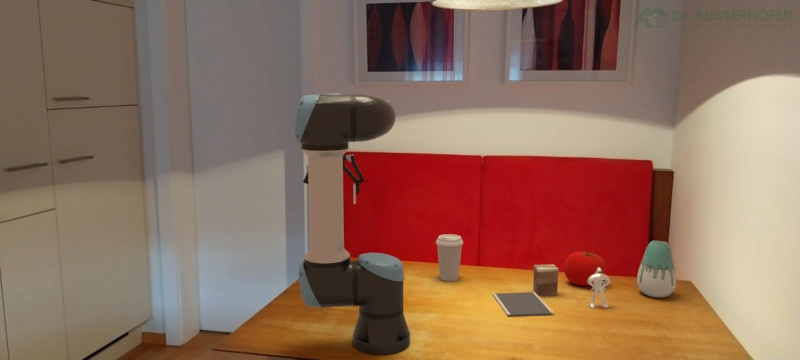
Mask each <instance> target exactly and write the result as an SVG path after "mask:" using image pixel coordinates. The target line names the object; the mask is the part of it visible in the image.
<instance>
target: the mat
mask: <svg viewBox="0 0 800 360" xmlns="http://www.w3.org/2000/svg"><path fill="white" fill-rule="evenodd" d="M492 297H493V298H494V300H495V301H496V302H497V304H498V305H499V307H500V308H501V309H502V311H503V312H504V313H505V314H504V315H506V316H507V318H508V317H510V318H511V317H533V316H534V317H535V316H536V317H537V316H554V315H555V312H554V311H553V310H552V309H551V308H550V307H549V305H548V304H547V303H546V302H545V301H544V300H543V299H542V298H541V296H538V295H537V294H536V293H535V292H533V291H532V292H531V291H528V292H527V291H526V292H501V293H500V292H499V293H495V292H492Z"/></svg>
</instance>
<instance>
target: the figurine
mask: <svg viewBox="0 0 800 360" xmlns="http://www.w3.org/2000/svg"><path fill="white" fill-rule="evenodd" d="M592 281H593V284H592ZM587 282H588V284H589V285H590V286H591V287H592V288H591V289H590V290H589V291H593V294H592V299H591V302H589V304H588V307H589V308H590V309H595V308H596V304H595V301H596V298H597V295H598V294H599V293H600V297H601V302H600V304H599V305H600V307H602V308H604V309H605V308H606V309H608V308H609V304H608V303H606V300H605V291H607V289H606V287H607V286H608V285H610V284H611V279H610V277H609V276H608V275H607V274H606V273H605V274H602V270H601V268H597V270H596V273H595V274H593V275H591V276H590V277H589V278H588V281H587Z"/></svg>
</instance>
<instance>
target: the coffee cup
mask: <svg viewBox="0 0 800 360" xmlns="http://www.w3.org/2000/svg"><path fill="white" fill-rule="evenodd" d="M463 244H464V241H463V239H462V236H461V235H457V234H452V233H451V234H450V233H448V234H445V233H444V234H439V236H438V237H437V238H436V241H435V245H437V257H438V260H437V261H438V272H439V279H440V280H441V281H443V282H455V281H458V280H459V276H460V275H459V274H460V265H461V257H462V246H463Z"/></svg>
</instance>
